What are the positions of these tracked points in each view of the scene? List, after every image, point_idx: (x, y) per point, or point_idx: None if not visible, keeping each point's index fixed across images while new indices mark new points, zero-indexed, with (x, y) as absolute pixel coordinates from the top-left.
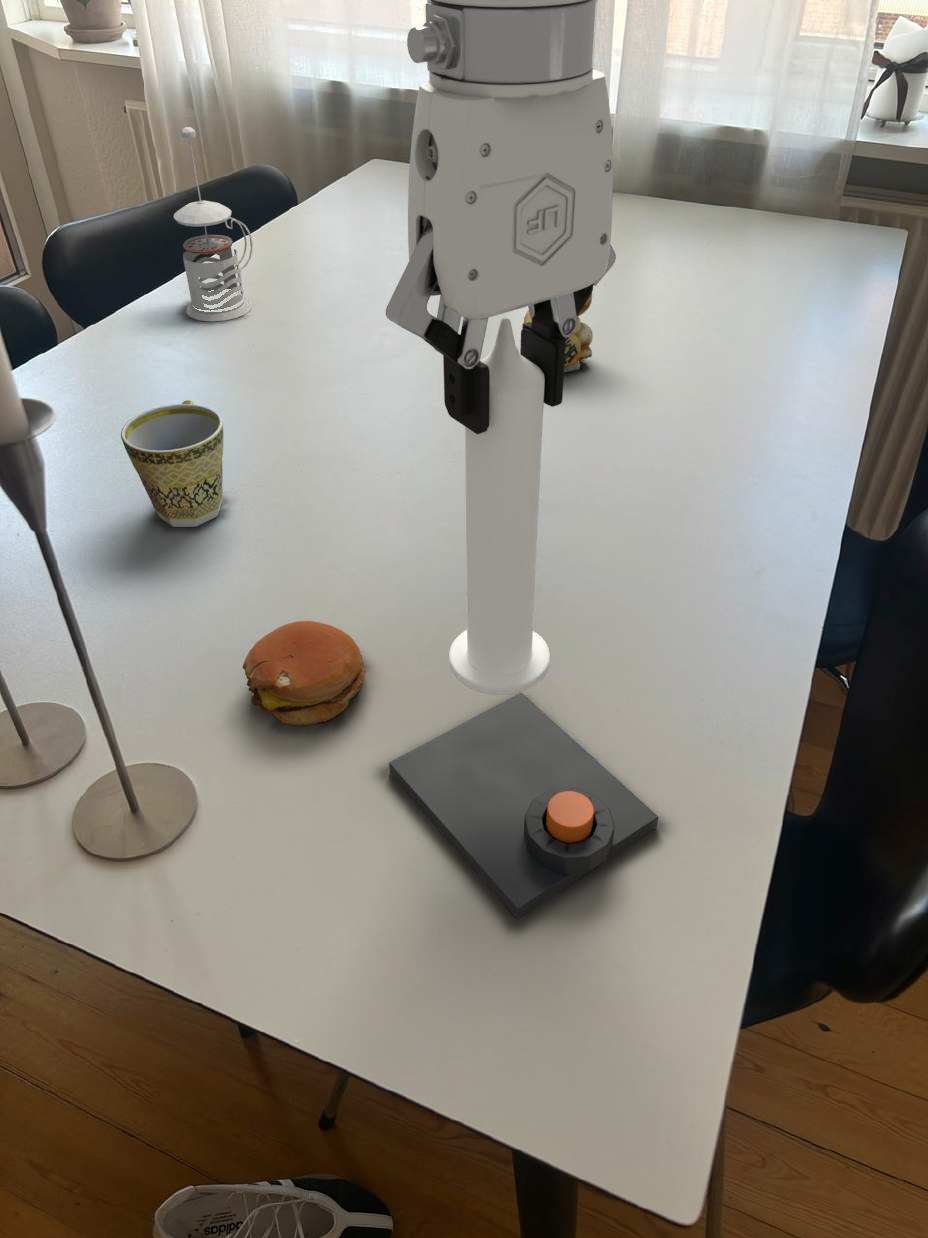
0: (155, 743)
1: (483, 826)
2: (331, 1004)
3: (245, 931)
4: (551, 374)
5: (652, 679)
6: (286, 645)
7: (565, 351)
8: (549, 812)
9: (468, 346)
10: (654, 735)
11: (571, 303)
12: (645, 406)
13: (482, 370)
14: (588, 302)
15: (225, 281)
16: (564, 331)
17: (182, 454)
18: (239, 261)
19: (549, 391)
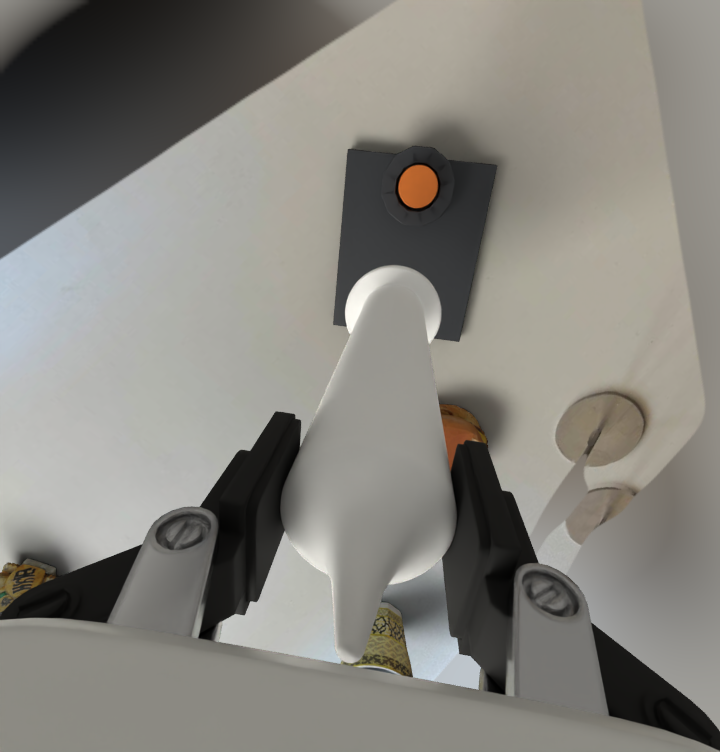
0: (549, 466)
1: (455, 244)
2: (637, 210)
3: (628, 300)
4: (281, 459)
5: (235, 266)
6: (450, 470)
7: (25, 578)
8: (433, 196)
9: (578, 631)
10: (279, 221)
11: (137, 589)
12: (9, 493)
13: (513, 542)
14: None
15: None
16: (199, 526)
17: (388, 664)
18: None
19: (292, 439)
